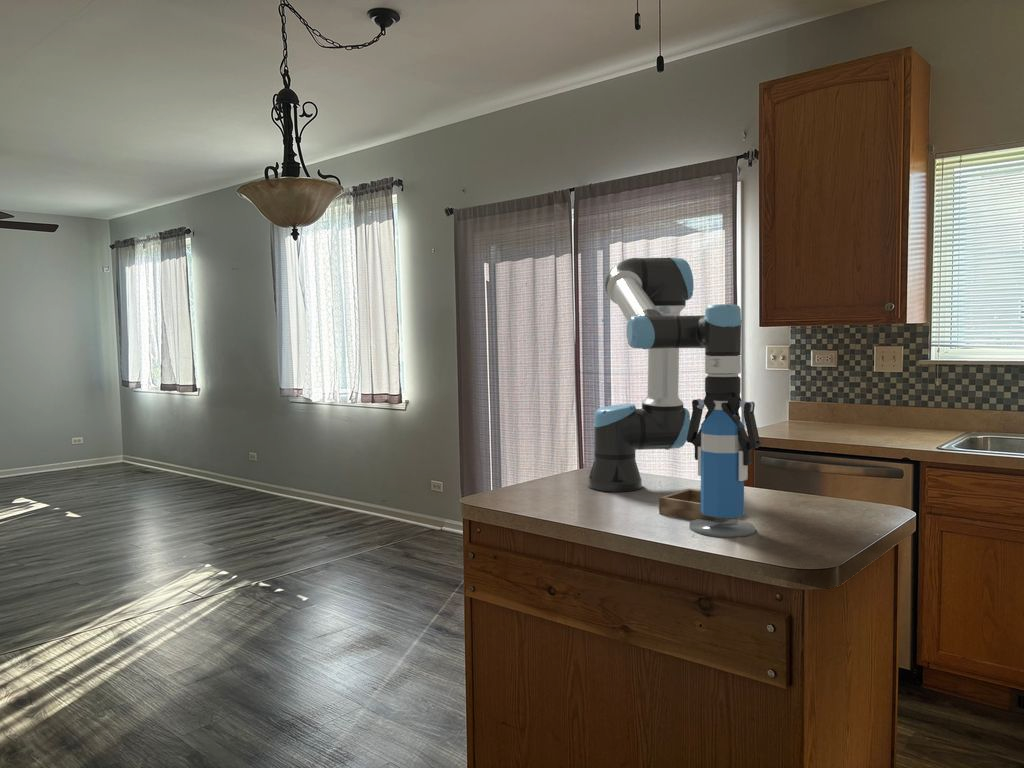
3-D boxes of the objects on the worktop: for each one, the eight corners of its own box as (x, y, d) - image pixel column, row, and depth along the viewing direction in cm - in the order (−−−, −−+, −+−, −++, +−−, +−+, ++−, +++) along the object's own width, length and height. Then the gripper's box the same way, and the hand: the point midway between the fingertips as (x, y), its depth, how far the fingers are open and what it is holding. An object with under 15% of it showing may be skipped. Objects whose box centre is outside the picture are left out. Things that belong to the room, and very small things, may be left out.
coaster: (677, 529, 162) (677, 526, 162) (708, 518, 172) (708, 514, 172) (736, 541, 152) (736, 537, 152) (766, 528, 162) (766, 524, 162)
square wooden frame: (659, 513, 176) (659, 497, 176) (688, 504, 187) (688, 488, 186) (711, 523, 167) (711, 506, 167) (739, 512, 177) (739, 496, 177)
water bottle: (695, 515, 160) (696, 401, 158) (705, 506, 168) (706, 398, 167) (739, 519, 155) (740, 402, 154) (747, 510, 164) (748, 399, 162)
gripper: (670, 374, 165) (670, 474, 166) (763, 377, 150) (762, 486, 151) (687, 373, 170) (686, 469, 171) (778, 375, 155) (777, 480, 157)
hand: (722, 477), depth 161 cm, fingers closed on water bottle, 9 cm apart
